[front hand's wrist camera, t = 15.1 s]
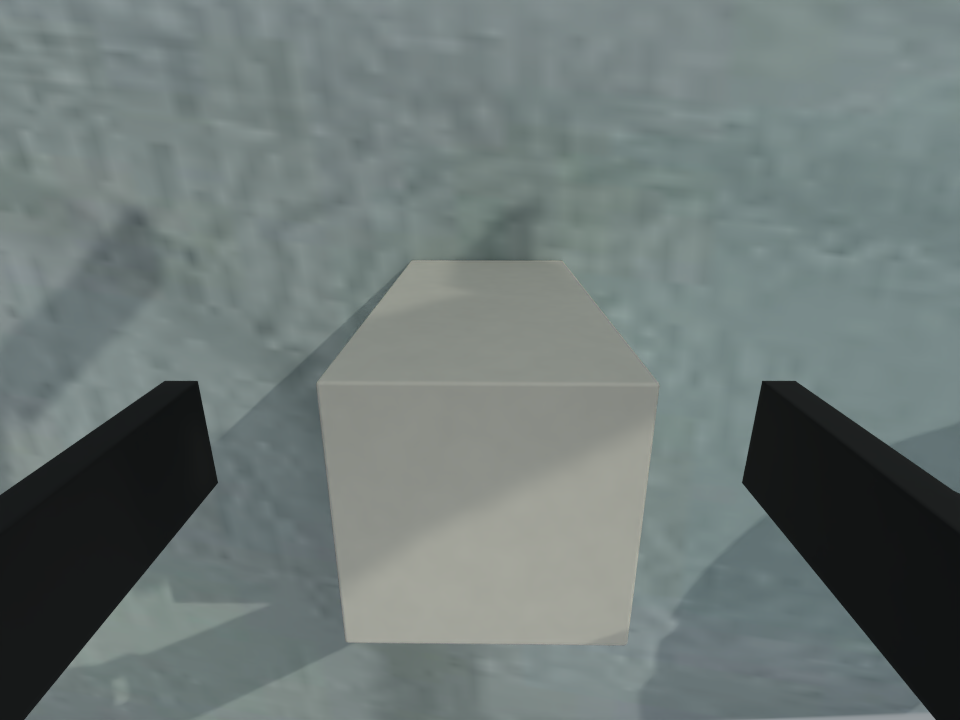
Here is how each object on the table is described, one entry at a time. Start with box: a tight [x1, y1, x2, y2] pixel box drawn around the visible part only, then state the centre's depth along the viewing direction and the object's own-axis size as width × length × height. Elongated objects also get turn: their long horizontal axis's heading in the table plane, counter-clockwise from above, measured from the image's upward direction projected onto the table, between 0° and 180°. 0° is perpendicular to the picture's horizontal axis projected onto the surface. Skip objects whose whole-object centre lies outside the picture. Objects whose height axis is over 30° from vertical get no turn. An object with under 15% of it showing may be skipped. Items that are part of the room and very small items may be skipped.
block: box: [316, 260, 659, 645], centre depth 15 cm, size 6×6×12 cm
